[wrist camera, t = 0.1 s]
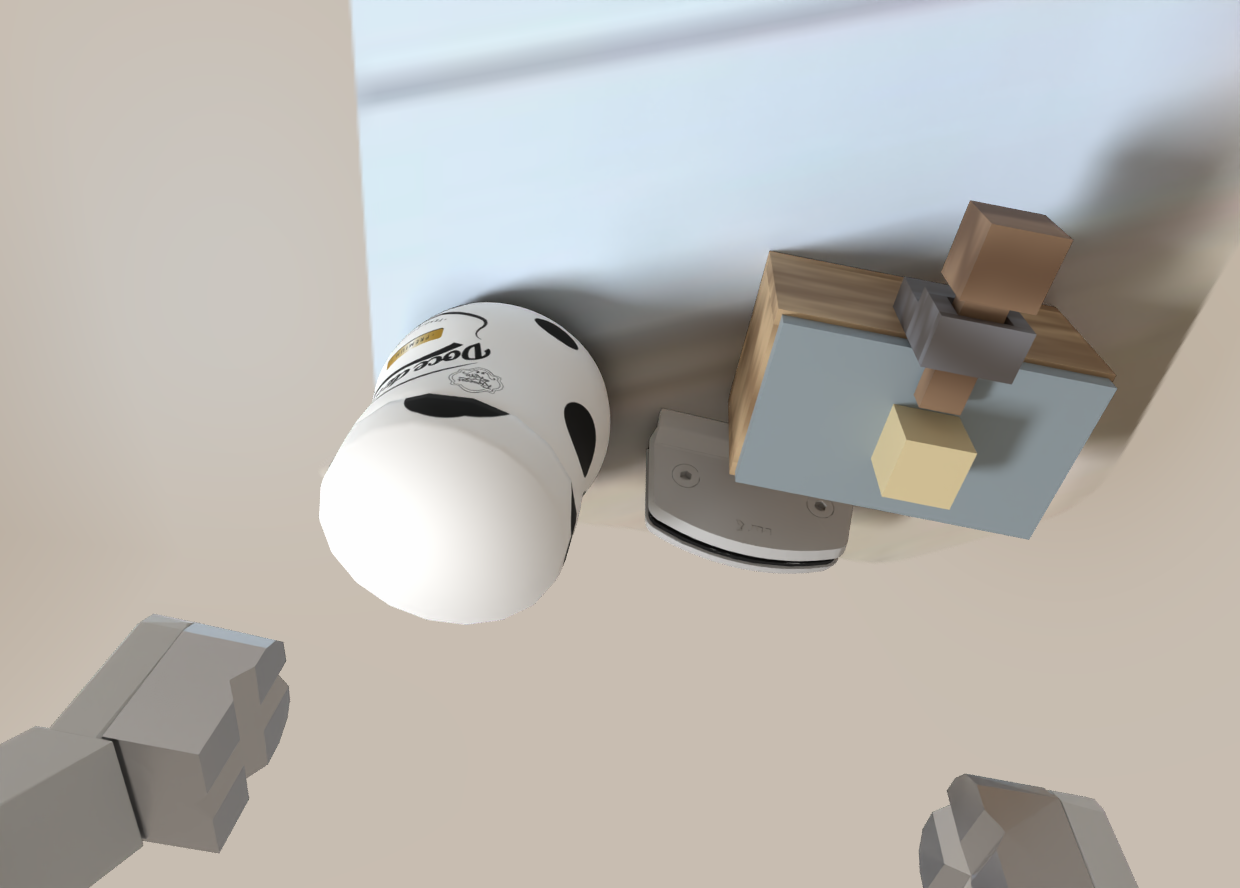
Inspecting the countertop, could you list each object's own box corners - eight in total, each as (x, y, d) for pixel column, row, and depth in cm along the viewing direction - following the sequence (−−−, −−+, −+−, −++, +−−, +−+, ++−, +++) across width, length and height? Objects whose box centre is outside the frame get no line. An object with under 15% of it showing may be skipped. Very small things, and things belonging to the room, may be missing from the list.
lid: (780, 307, 47) (788, 353, 42) (1101, 370, 47) (1148, 424, 42) (734, 462, 54) (736, 519, 48) (1018, 518, 54) (1050, 581, 48)
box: (781, 207, 53) (799, 287, 41) (1076, 265, 53) (1179, 362, 41) (728, 399, 61) (730, 512, 49) (984, 450, 61) (1047, 575, 49)
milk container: (427, 250, 57) (322, 363, 42) (650, 338, 59) (626, 477, 44) (380, 436, 67) (281, 583, 52) (574, 507, 69) (533, 669, 54)
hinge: (865, 453, 63) (867, 565, 57) (842, 486, 66) (843, 594, 60) (657, 406, 62) (637, 513, 56) (646, 442, 66) (627, 546, 60)
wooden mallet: (970, 200, 42) (991, 223, 38) (1045, 215, 42) (1073, 239, 38) (896, 381, 48) (909, 415, 45) (961, 394, 48) (979, 429, 45)
